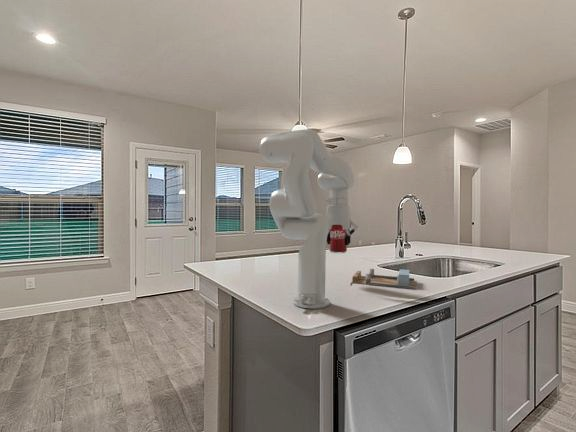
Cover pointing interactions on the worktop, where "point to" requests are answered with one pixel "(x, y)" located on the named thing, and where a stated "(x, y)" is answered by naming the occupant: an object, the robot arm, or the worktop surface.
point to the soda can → (338, 239)
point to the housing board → (381, 281)
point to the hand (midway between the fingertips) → (338, 244)
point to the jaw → (403, 277)
